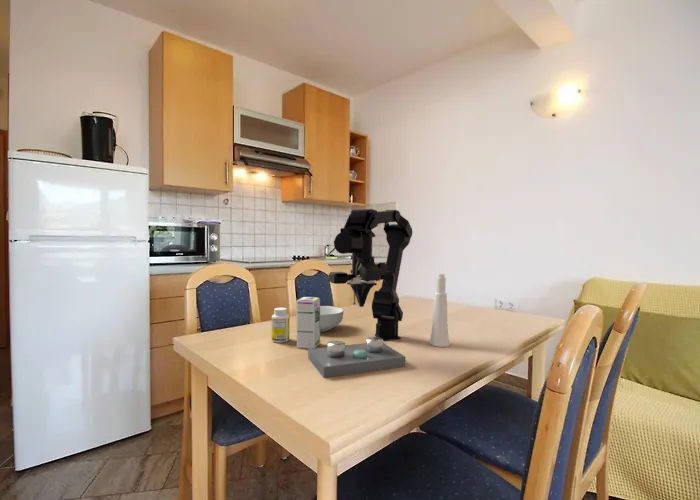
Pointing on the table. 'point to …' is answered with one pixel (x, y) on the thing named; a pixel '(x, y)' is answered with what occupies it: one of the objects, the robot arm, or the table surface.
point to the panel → (354, 360)
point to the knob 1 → (336, 349)
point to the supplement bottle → (280, 325)
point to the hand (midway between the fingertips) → (361, 306)
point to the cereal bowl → (329, 317)
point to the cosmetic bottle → (440, 315)
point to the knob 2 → (374, 344)
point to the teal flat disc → (360, 354)
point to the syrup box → (308, 322)
